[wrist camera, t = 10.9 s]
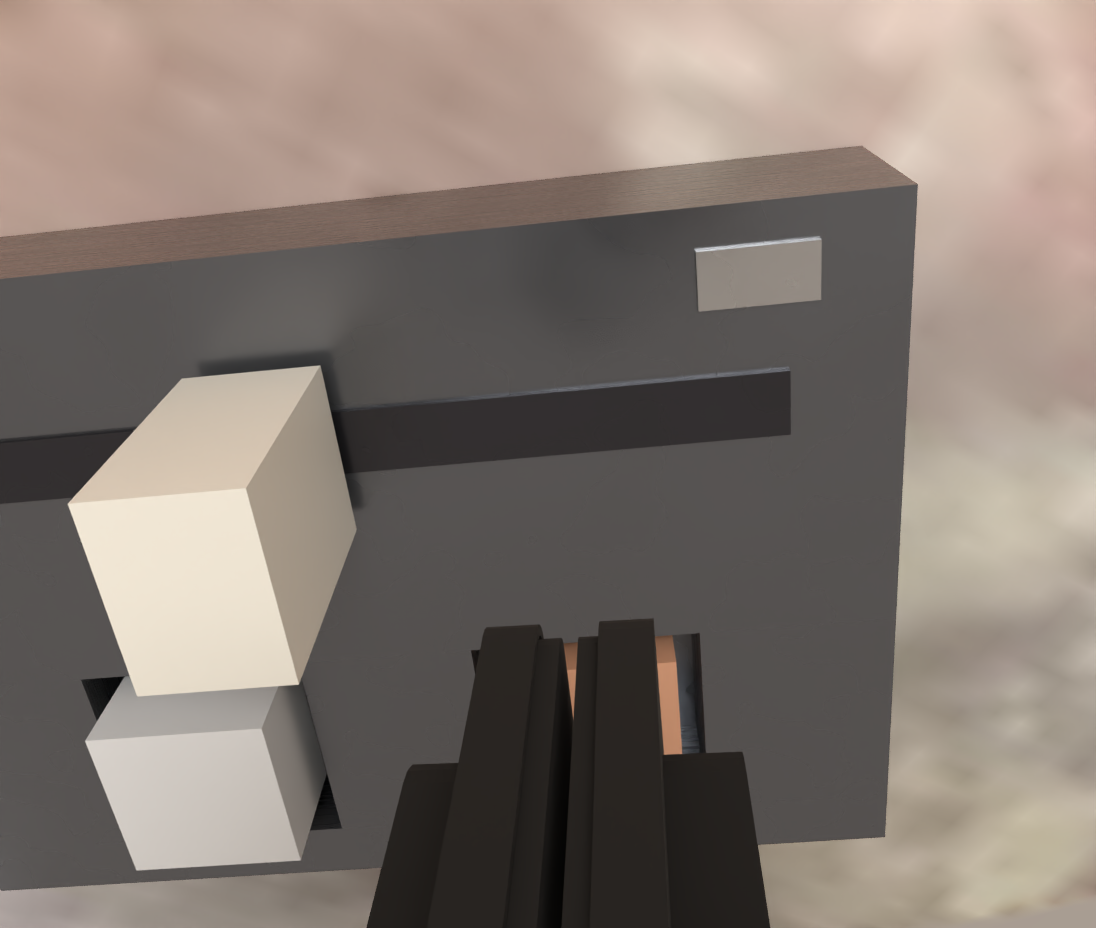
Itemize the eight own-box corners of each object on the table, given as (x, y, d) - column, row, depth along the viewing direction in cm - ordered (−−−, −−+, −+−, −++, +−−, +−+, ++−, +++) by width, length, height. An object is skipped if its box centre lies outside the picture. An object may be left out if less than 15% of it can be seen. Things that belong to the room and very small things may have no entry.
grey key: (293, 649, 22) (261, 728, 20) (326, 773, 23) (301, 860, 21) (134, 661, 22) (85, 741, 20) (177, 783, 24) (136, 870, 21)
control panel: (861, 146, 19) (919, 185, 16) (846, 727, 25) (886, 840, 22) (-153, 253, 21) (-287, 310, 17) (67, 780, 27) (-2, 894, 24)
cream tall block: (320, 365, 17) (246, 488, 13) (356, 529, 19) (299, 684, 15) (181, 378, 17) (67, 503, 14) (227, 540, 19) (136, 696, 15)
